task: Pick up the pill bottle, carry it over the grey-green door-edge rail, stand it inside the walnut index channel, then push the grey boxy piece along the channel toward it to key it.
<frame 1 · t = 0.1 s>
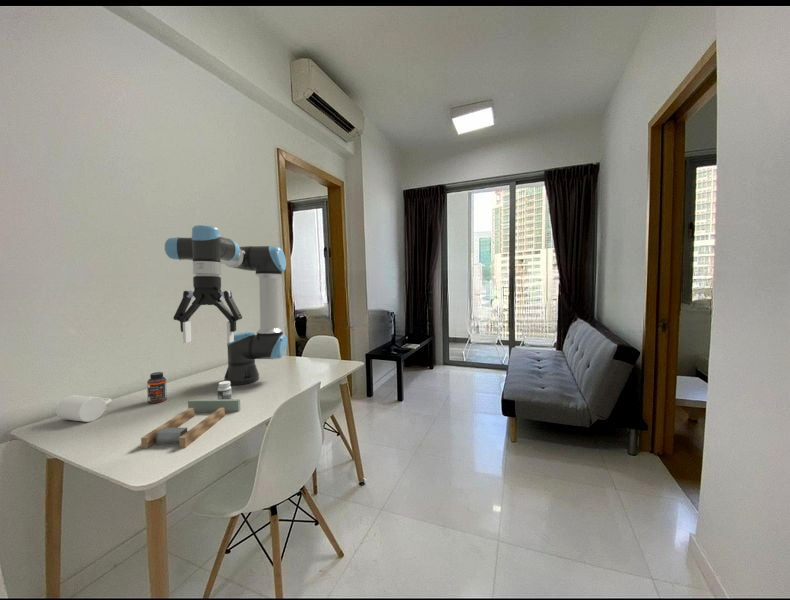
hand: (209, 342, 97), 28 cm above the table, fingers open, 13 cm apart
grey boxy piece: (172, 435, 89), point 2 cm above the table, slide at 0.0 cm
supplement bottle: (157, 401, 120), on the table
pill bottle: (224, 404, 118), on the table
index channel: (187, 430, 96), on the table
door edge rail: (214, 410, 111), on the table
mug: (89, 417, 106), on the table
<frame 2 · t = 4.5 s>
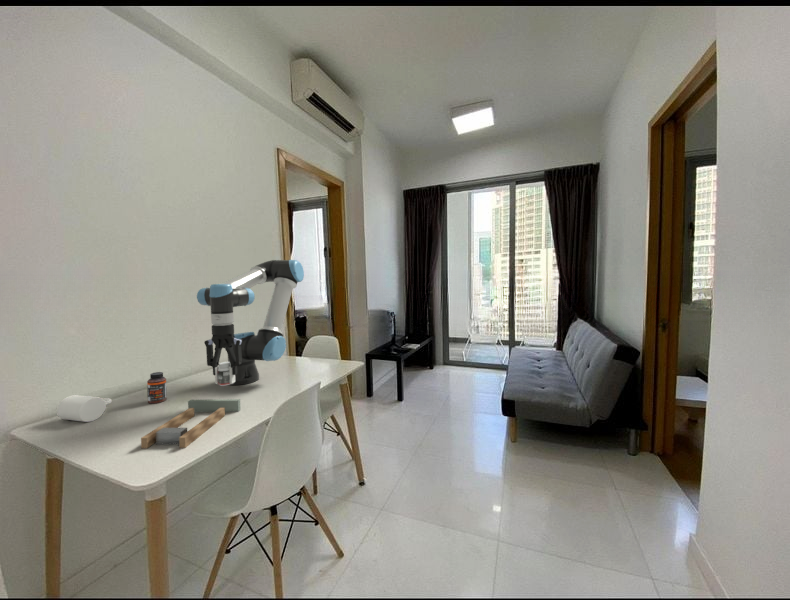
hand: (225, 382, 118), 8 cm above the table, fingers closed on pill bottle, 5 cm apart
pill bottle: (225, 384, 118), point 7 cm above the table, touching gripper
everything else where it was.
when the fingers open (0 cm above the table, at t = 9.5 s): pill bottle stays where it is, on the table.
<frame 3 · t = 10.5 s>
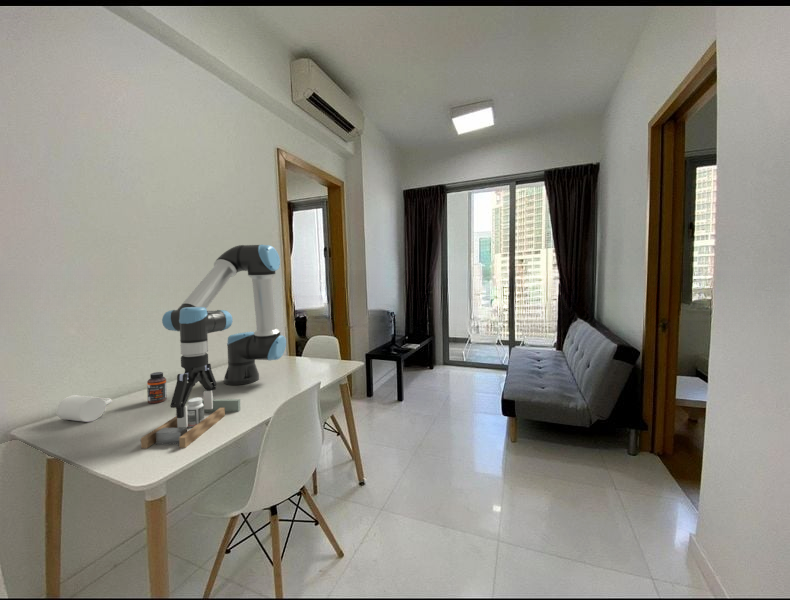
hand: (196, 417, 100), 2 cm above the table, fingers open, 13 cm apart
pill bottle: (195, 424, 101), on the table
everything else where it was.
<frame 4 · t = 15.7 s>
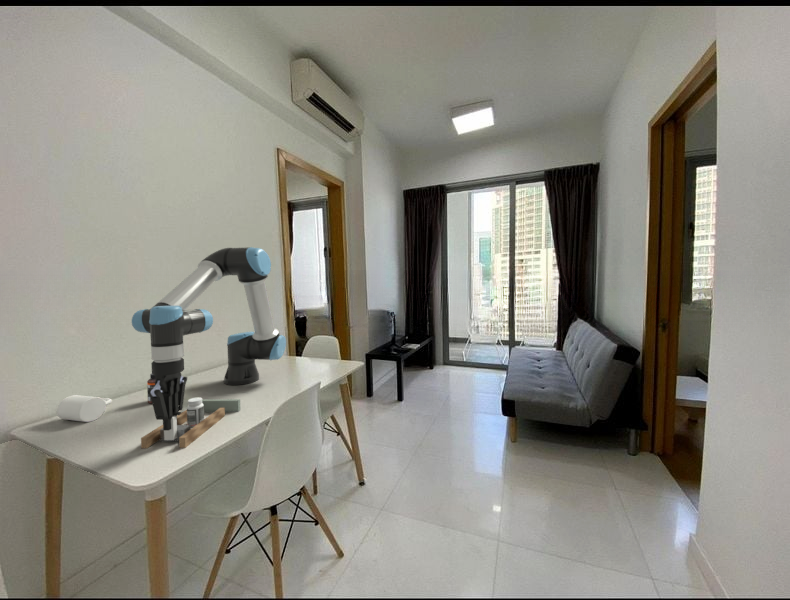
hand: (170, 438, 88), 1 cm above the table, fingers closed
grey boxy piece: (176, 433, 91), point 2 cm above the table, slide at 1.7 cm, touching gripper
everything else where it was.
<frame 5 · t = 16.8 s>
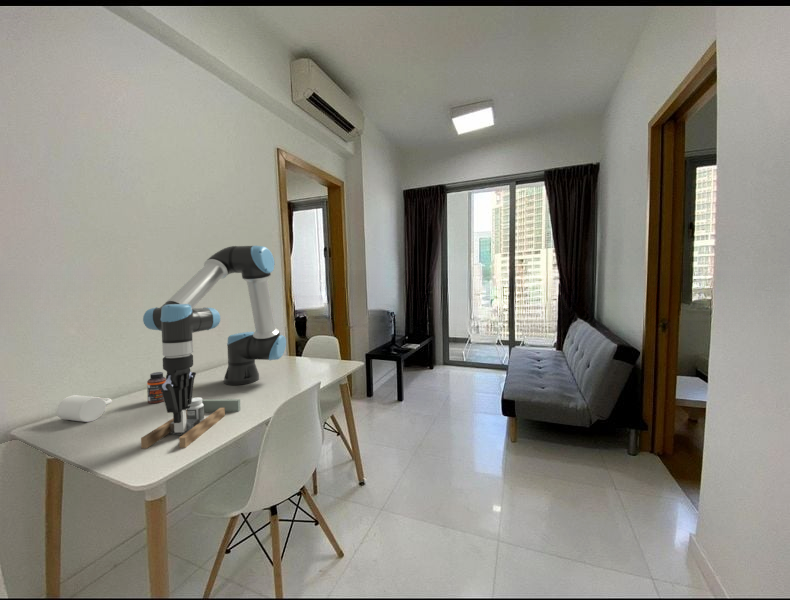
hand: (180, 431, 93), 1 cm above the table, fingers closed
grey boxy piece: (185, 426, 95), point 2 cm above the table, slide at 5.9 cm, touching gripper
everything else where it was.
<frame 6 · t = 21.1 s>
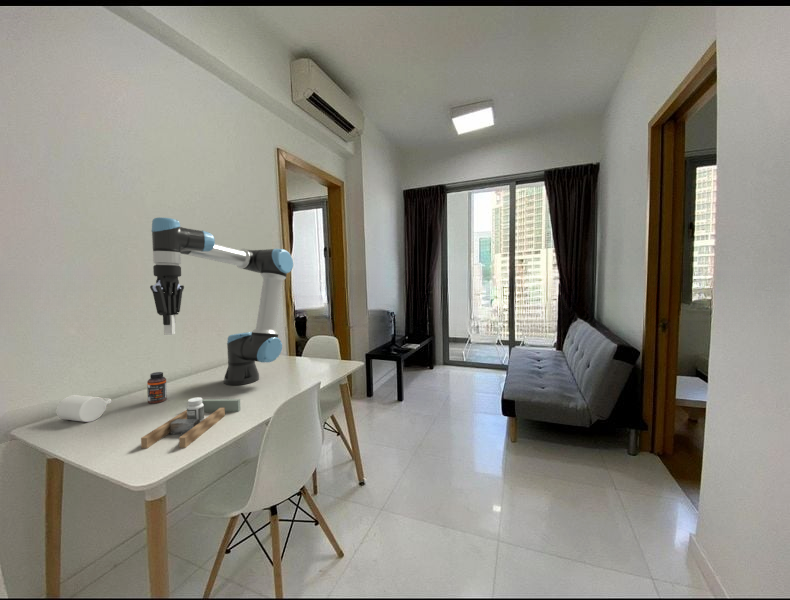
hand: (169, 334, 103), 29 cm above the table, fingers closed
grey boxy piece: (185, 426, 95), point 2 cm above the table, slide at 5.9 cm
everything else where it was.
at the end: pill bottle inside the target area (0.6 cm from its centre), on the table; pill bottle tilted 0°; grey boxy piece slide at 5.9 cm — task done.
